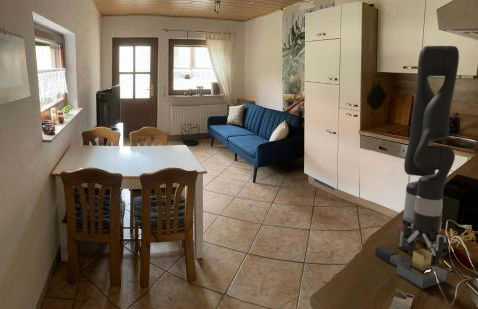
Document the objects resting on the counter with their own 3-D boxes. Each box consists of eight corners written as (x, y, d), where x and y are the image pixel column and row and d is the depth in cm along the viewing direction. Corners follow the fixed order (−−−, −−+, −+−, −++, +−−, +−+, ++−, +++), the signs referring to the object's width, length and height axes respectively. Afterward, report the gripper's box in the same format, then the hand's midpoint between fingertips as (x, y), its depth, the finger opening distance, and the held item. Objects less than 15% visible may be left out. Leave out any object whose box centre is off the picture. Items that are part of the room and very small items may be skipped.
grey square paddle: (390, 250, 142) (391, 242, 141) (445, 281, 122) (446, 271, 121) (368, 256, 138) (369, 247, 137) (422, 288, 118) (423, 278, 117)
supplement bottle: (400, 242, 148) (403, 214, 146) (416, 247, 145) (420, 218, 142) (394, 248, 144) (397, 219, 141) (412, 253, 140) (415, 223, 138)
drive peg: (419, 271, 127) (422, 248, 125) (430, 277, 123) (433, 253, 121) (410, 274, 125) (413, 251, 123) (421, 280, 121) (424, 256, 120)
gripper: (457, 216, 114) (450, 267, 118) (417, 201, 127) (412, 247, 131) (439, 221, 111) (433, 272, 115) (400, 204, 124) (395, 251, 128)
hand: (422, 259), depth 123 cm, fingers open, 8 cm apart
